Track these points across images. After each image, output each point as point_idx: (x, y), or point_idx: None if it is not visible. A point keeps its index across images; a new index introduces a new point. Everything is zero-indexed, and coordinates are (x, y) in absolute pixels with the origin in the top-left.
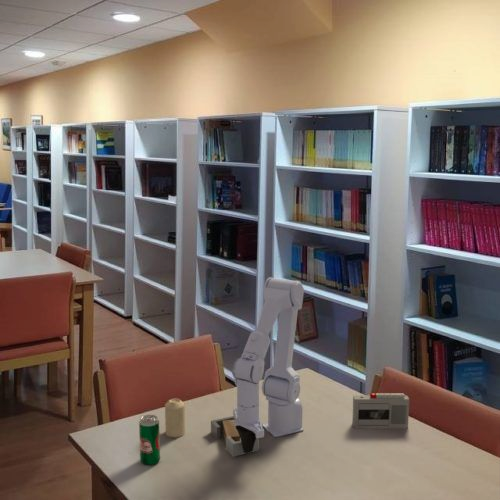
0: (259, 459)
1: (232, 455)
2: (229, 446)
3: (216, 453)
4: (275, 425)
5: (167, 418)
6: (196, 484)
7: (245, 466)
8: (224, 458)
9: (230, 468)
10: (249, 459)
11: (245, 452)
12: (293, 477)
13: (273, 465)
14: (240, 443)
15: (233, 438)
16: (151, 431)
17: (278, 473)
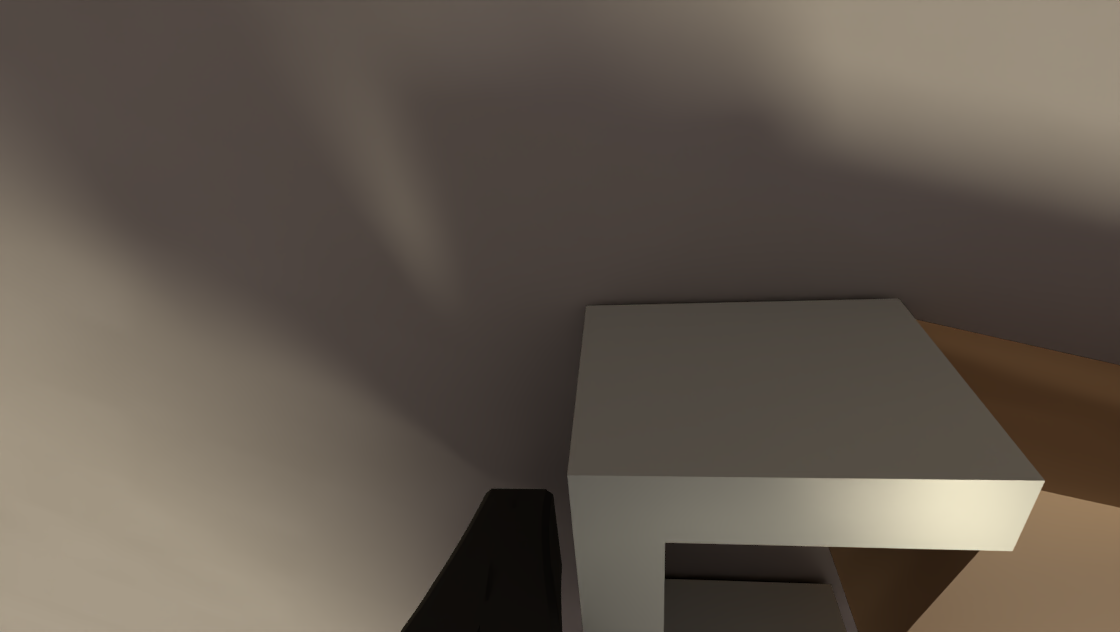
0: (409, 539)
1: (612, 308)
2: (765, 371)
3: (876, 61)
4: None
5: None
6: None
7: (268, 353)
8: (604, 149)
9: (231, 126)
10: (441, 458)
11: (483, 500)
12: (26, 621)
13: (253, 588)
14: (579, 582)
15: (925, 550)
16: None
17: (91, 565)
